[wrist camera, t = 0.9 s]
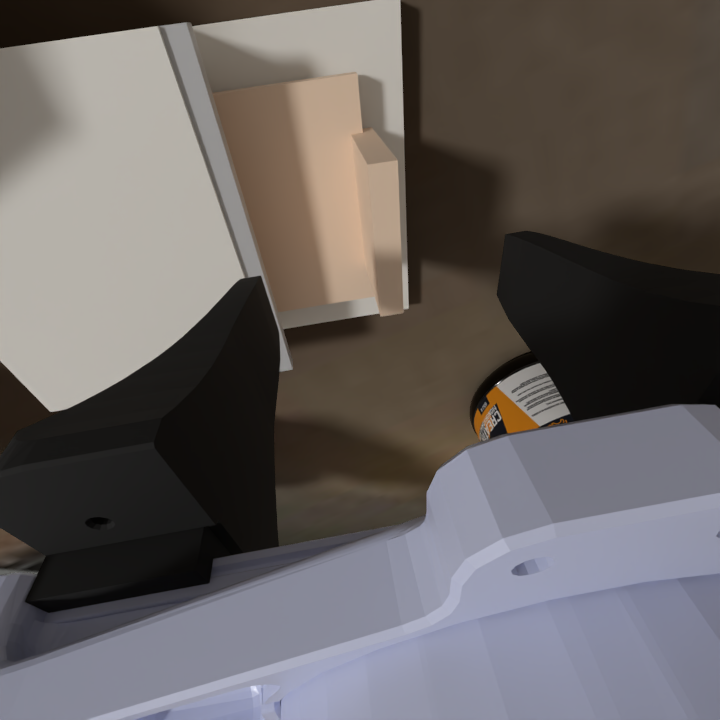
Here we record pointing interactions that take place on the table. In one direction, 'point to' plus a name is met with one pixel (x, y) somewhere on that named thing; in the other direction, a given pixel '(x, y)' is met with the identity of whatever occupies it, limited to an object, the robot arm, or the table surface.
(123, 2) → the table surface
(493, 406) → the supplement container
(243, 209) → the ticket dispenser
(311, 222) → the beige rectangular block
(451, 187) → the table surface
